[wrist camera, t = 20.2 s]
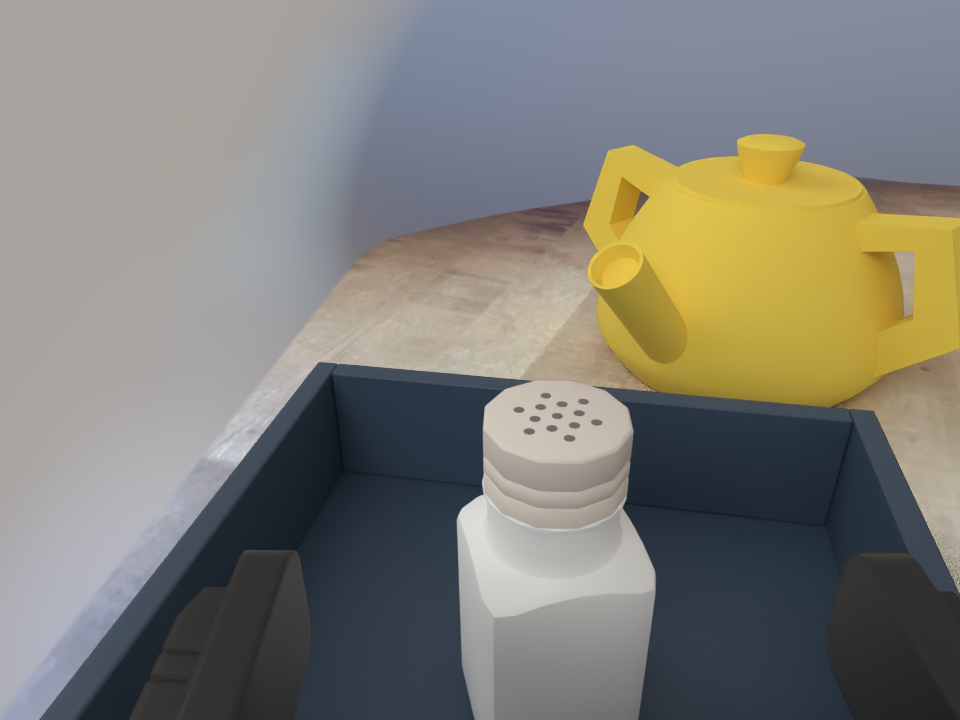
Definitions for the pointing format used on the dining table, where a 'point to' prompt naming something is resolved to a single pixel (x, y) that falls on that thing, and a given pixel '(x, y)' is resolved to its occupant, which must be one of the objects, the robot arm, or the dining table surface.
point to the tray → (458, 480)
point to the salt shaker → (554, 561)
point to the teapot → (764, 276)
